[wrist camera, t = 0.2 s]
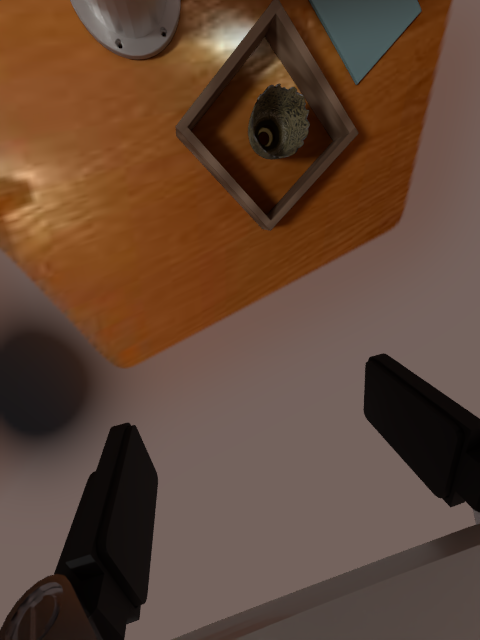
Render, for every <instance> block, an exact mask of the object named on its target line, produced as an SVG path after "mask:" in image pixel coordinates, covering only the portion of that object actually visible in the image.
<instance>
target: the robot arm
mask: <svg viewBox="0 0 480 640" xmlns="http://www.w3.org/2000/svg"><path fill="white" fill-rule="evenodd" d="M70 1H71V3H72V5H73V7H74V9H75V11H76V13H77V15H78V17H79V18H80V20H81V21H82V23H83V24H84V26H85V27H86V29H87V30H88V31H89V32H90V34H91V35H92V36H93V37H94V38H95V39H96V40H97V41H98V42H99V43H100V44H102V45H103V46H104V47H105V48H107V49H108V50H110V51H111V52H113V53H115V54H117V55H119V56H122V57H125V58H128V59H137V60H139V59H147V58H150V57H152V56H155V55H157V54H158V53H160V52H161V51H162V50H164V49H165V47H166V46H167V45H168V44H169V43H170V41H171V40H172V38H173V36H174V34H175V32H176V29H177V25H178V22H179V16H180V8H181V0H70ZM163 34H165V35H166V37H163V36H162V35H163ZM119 46H122V48H119ZM364 392H365V394H364V414H365V417H366V418H367V420H368V421H369V422H370V423H371V424H372V425H373V427H374V428H375V429H376V430H377V431H378V432H379V433H380V434H381V435H382V436H383V438H384V439H385V440H386V441H387V442H388V443H389V444H390V446H391V447H392V448H393V449H394V450H395V451H396V452H397V453H398V454H399V455H400V457H401V458H402V459H403V460H404V461H405V462H406V463H407V465H408V466H409V467H410V468H411V469H412V470H413V471H414V472H415V474H416V475H417V476H418V477H419V478H420V479H421V480H422V481H423V482H424V483H425V485H426V486H427V487H428V488H429V489H430V490H431V491H432V493H433V494H434V495H436V496H437V497H438V498H442V499H443V500H444V501H445V502H446V503H447V504H448V505H449V506H450V507H453V506H455V505H458V504H461V503H464V502H465V501H466V502H467V503H468V504H469V505H470V506H471V507H472V508H473V512H474V517H475V521H476V525H474V526H471V527H468V528H465V529H462V530H460V531H457V532H454V533H451V534H449V535H446V536H444V537H441V538H438V539H435V540H432V541H430V542H427V543H424V544H422V545H419V546H416V547H413V548H411V549H408V550H405V551H403V552H400V553H397V554H395V555H392V556H389V557H386V558H384V559H381V560H378V561H376V562H373V563H370V564H368V565H365V566H362V567H360V568H357V569H354V570H352V571H349V572H346V573H344V574H341V575H338V576H336V577H333V578H330V579H328V580H325V581H322V582H320V583H317V584H314V585H312V586H309V587H307V588H304V589H301V590H298V591H296V592H293V593H290V594H288V595H285V596H283V597H280V598H278V599H275V600H272V601H269V602H267V603H264V604H262V605H259V606H256V607H254V608H251V609H249V610H246V611H244V612H241V613H238V614H235V615H233V616H230V617H228V618H225V619H222V620H220V621H217V622H215V623H212V624H209V625H207V626H204V627H202V628H199V629H197V630H194V631H192V632H190V633H187V634H185V635H182V636H180V637H177V638H175V639H173V640H480V419H479V418H478V417H476V416H475V415H473V414H472V413H470V412H469V411H468V410H466V409H464V408H463V407H461V406H460V405H459V404H458V403H456V402H455V401H453V400H452V399H450V398H449V397H447V396H446V395H444V394H443V393H442V392H440V391H439V390H437V389H436V388H434V387H433V386H432V385H430V384H429V383H427V382H426V381H424V380H423V379H421V378H420V377H418V376H417V375H415V374H414V373H413V372H411V371H410V370H408V369H407V368H406V367H404V366H403V365H401V364H400V363H398V362H397V361H395V360H394V359H393V358H391V357H390V356H388V355H386V354H380V355H376V356H372V357H370V358H369V360H368V362H366V368H365V391H364ZM157 487H158V477H157V472H156V470H155V468H154V466H153V463H152V461H151V459H150V457H149V454H148V452H147V450H146V448H145V445H144V443H143V441H142V439H141V436H140V434H139V432H138V430H137V427H136V426H135V425H133V426H131V425H130V423H124V424H121V425H117V426H113V427H112V428H111V429H110V432H109V434H108V437H107V440H106V443H105V446H104V449H103V452H102V455H101V458H100V461H99V464H98V467H97V470H96V471H95V472H93V473H92V474H91V475H90V477H89V479H88V481H87V484H86V486H85V489H84V492H83V495H82V498H81V501H80V503H79V506H78V509H77V512H76V514H75V517H74V520H73V523H72V525H71V528H70V531H69V534H68V537H67V540H66V542H65V545H64V548H63V551H62V553H61V556H60V559H59V562H58V565H57V567H56V570H55V573H54V575H50V576H47V577H45V578H44V579H42V580H40V581H38V582H37V583H36V584H34V585H33V586H32V587H31V588H30V589H28V590H27V591H26V592H25V593H24V595H23V596H22V597H21V598H20V599H19V600H18V601H17V602H16V604H15V605H14V607H13V608H12V610H11V611H10V612H9V614H8V615H7V617H6V619H5V621H4V623H3V626H2V627H1V629H0V640H124V637H125V630H126V624H129V623H132V622H134V621H137V620H139V617H140V607H141V605H142V604H144V603H145V602H146V599H147V593H148V582H149V572H150V561H151V551H152V540H153V530H154V519H155V508H156V497H157Z"/></svg>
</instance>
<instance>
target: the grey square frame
mask: <svg viewBox="0 0 480 640" xmlns="http://www.w3.org/2000/svg"><path fill="white" fill-rule="evenodd" d="M264 38H266V39H267V41H268V43H269V44H270V46H271V47H272V49H273V50H274V52H275V53H276V55H277V56H278V58H279V59H280V61H281V62H282V64H283V65H284V67H285V68H286V70H287V72H288V73H289V75H290V76H291V78H292V79H293V81H294V82H295V84H296V85H297V87H298V88H299V90H300V91H301V93H302V94H303V96H304V98H305V99H306V101H307V102H308V104H309V105H310V107H311V108H312V110H313V111H314V113H315V114H316V116H317V117H318V119H319V120H320V122H321V123H322V125H323V127H324V128H325V130H326V131H327V133H328V134H329V136H330V137H331V139H332V140H333V142H332V143H331V144H330V145H329V146H328V147H327V148H326V149H325V150H324V152H323V153H322V154H321V155H320V156H319V157H318V158H317V159H316V161H315V162H314V163H313V164H312V165H311V166H310V167H309V168H308V170H307V171H306V172H305V173H304V174H303V175H302V176H301V177H300V179H299V180H298V181H297V182H296V183H295V184H294V185H293V186H292V188H291V189H290V190H289V191H288V192H287V193H286V194H285V195H284V196H283V198H282V199H281V200H280V201H279V202H278V203H277V204H276V205H275V207H274V208H273V209H272V210H271V211H270V212H269V213H268V214H267V216H266V215H265V214H264V213H263V211H262V210H261V209H260V208H259V207H258V206H257V205H256V204H255V202H254V201H253V200H252V199H251V198H250V197H249V196H248V195H247V193H246V192H245V191H244V190H243V189H242V188H241V187H240V186H239V185H238V183H237V182H236V181H235V180H234V179H233V178H232V177H231V176H230V174H229V173H228V172H227V171H226V170H225V169H224V168H223V167H222V165H221V164H220V163H219V162H218V161H217V160H216V159H215V158H214V157H213V155H212V154H211V153H210V152H209V151H208V150H207V149H206V148H205V146H204V145H203V144H202V143H201V142H200V141H199V140H198V139H197V137H196V136H195V135H194V134H193V133H192V132H191V130H192V129H193V128H194V127H195V125H196V124H197V123H198V121H199V120H200V119H201V118H202V116H203V115H204V114H205V113H206V111H207V110H208V109H209V108H210V106H211V105H212V104H213V102H214V101H215V100H216V99H217V97H218V96H219V95H220V94H221V92H222V91H223V90H224V88H225V87H226V86H227V85H228V83H229V82H230V81H231V80H232V78H233V77H234V76H235V74H236V73H237V72H238V71H239V69H240V68H241V67H242V66H243V64H244V63H245V62H246V60H247V59H248V58H249V57H250V55H251V54H252V53H253V52H254V50H255V49H256V48H257V47H258V45H259V44H260V43H261V41H262V40H263V39H264ZM357 135H358V131H357V130H356V128H355V126H354V125H353V123H352V121H351V120H350V118H349V116H348V115H347V113H346V111H345V110H344V108H343V106H342V105H341V103H340V101H339V100H338V98H337V96H336V95H335V93H334V91H333V90H332V88H331V86H330V85H329V83H328V81H327V80H326V78H325V76H324V75H323V73H322V71H321V70H320V68H319V66H318V65H317V63H316V61H315V60H314V58H313V56H312V55H311V53H310V51H309V50H308V48H307V46H306V45H305V43H304V41H303V40H302V38H301V36H300V35H299V33H298V31H297V30H296V28H295V26H294V25H293V23H292V21H291V20H290V18H289V16H288V15H287V13H286V11H285V10H284V8H283V6H282V5H281V3H280V1H279V0H273V1H272V3H271V4H270V5H269V6H268V8H267V9H266V10H265V12H264V13H263V14H262V15H261V17H260V18H259V19H258V21H257V22H256V23H255V25H254V26H253V27H252V28H251V30H250V31H249V32H248V34H247V35H246V36H245V37H244V39H243V40H242V41H241V43H240V44H239V45H238V47H237V48H236V49H235V50H234V52H233V53H232V54H231V56H230V57H229V58H228V59H227V61H226V62H225V63H224V65H223V66H222V67H221V68H220V70H219V71H218V72H217V74H216V75H215V76H214V78H213V79H212V80H211V81H210V83H209V84H208V85H207V87H206V88H205V89H204V90H203V92H202V93H201V94H200V96H199V97H198V98H197V99H196V101H195V102H194V103H193V105H192V106H191V107H190V109H189V110H188V111H187V112H186V114H185V115H184V116H183V118H182V119H181V120H180V121H179V123H178V124H177V125H176V136H177V137H178V138H179V140H180V141H181V142H182V143H183V144H184V145H185V146H186V147H187V148H188V149H189V150H190V151H191V152H192V154H193V155H194V156H195V157H196V158H197V159H198V160H199V161H200V162H201V163H202V164H203V165H204V167H205V168H206V169H207V170H208V171H209V172H210V173H211V174H212V175H213V176H214V177H215V178H216V179H217V181H218V182H219V183H220V184H221V185H222V186H223V187H224V188H225V189H226V190H227V191H228V192H229V194H230V195H231V196H232V197H233V198H234V199H235V200H236V201H237V202H238V203H239V204H240V205H241V206H242V208H243V209H244V210H245V211H246V212H247V213H248V214H249V215H250V216H251V217H252V218H253V219H254V220H255V222H256V223H257V224H258V225H259V226H260V227H261V228H262V229H265V230H270V231H271V230H272V229H273V227H274V226H275V225H276V224H277V223H278V222H279V221H280V220H281V219H282V217H283V216H284V215H285V214H286V213H287V212H288V211H289V210H290V209H291V208H292V206H293V205H294V204H295V203H296V202H297V201H298V200H299V199H300V198H301V196H302V195H303V194H304V193H305V192H306V191H307V190H308V189H309V188H310V187H311V185H312V184H313V183H314V182H315V181H316V180H317V179H318V178H319V177H320V175H321V174H322V173H323V172H324V171H325V170H326V169H327V168H328V167H329V166H330V164H331V163H332V162H333V161H334V160H335V159H336V158H337V157H338V156H339V154H340V153H341V152H342V151H343V150H344V149H345V148H346V147H347V146H348V144H349V143H350V142H351V141H352V140H353V139H354V138H355V137H356V136H357Z"/></svg>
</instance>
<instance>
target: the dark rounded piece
mask: <svg viewBox="0 0 480 640" xmlns="http://www.w3.org/2000/svg"><path fill="white" fill-rule="evenodd" d="M280 85H281V84H277V85H276V86H274V85H270V86H269V87H268V88H267V89H266V90H265V91H264V93H263V94H260V96H259V97H258V99H257V102H256V103H255V106H254V108H253V111H252V114H251V117H250V121H249V127H248V136H249V141H250V144H251V146H252V148H253V150H254V151H255V152H256V153H257V154H258V155H259V156H261V157H263V158H266V159H279V158H285V157H288V156H291V155H293V154H295V153H296V152H297V150H298V148H299V147H301V146H302V145H303V144H304V142H303V140H304V139H305V138H306V137H307V135H308V127H309V126H310V123H309V122H308V120H307V119H306V118H307V116H308V114H309V110H306V109H305V104H306V103H305V98H304V96H303V95H302V94H299V93H298V92H297V89H296V88H295V87H291V88H290V89H289V90H288V89H286V88H285V87H283V88H281V86H280ZM262 132H265V133H267V134H268V136H269V141H268V143H267V144H266V145H262V144H261V143H260V141H259V138H258V137H259V135H260V133H262Z"/></svg>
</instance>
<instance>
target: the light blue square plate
mask: <svg viewBox="0 0 480 640" xmlns="http://www.w3.org/2000/svg"><path fill="white" fill-rule="evenodd" d="M309 1H310V3H311V5H312V7H313V9H314V10H315V12H316V14H317V16H318V17H319V19H320V21H321V23H322V25H323V26H324V28H325V30H326V32H327V34H328V35H329V37H330V39H331V41H332V43H333V44H334V46H335V48H336V50H337V52H338V53H339V55H340V57H341V59H342V61H343V62H344V64H345V66H346V68H347V70H348V71H349V73H350V75H351V77H352V78H353V80H354V82H355V84H356V85H357V84H358V83H359V82H360V80H361V79H362V78H363V77H364V76H365V75H366V74H367V72H368V71H369V70H370V69H371V68H372V67H373V66H374V64H375V63H376V62H377V61H378V60H379V59H380V58H381V56H382V55H383V54H384V53H385V52H386V51H387V50H388V48H389V47H390V46H391V45H392V44H393V43H394V42H395V40H396V39H397V38H398V37H399V36H400V35H401V34H402V32H403V31H404V30H405V29H406V28H407V27H408V26H409V24H410V23H411V22H412V21H413V20H414V19H415V18H416V16H417V15H418V14H419V13H420V12H421V11H422V10H421V8H420V5H419V3H418V0H309Z"/></svg>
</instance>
